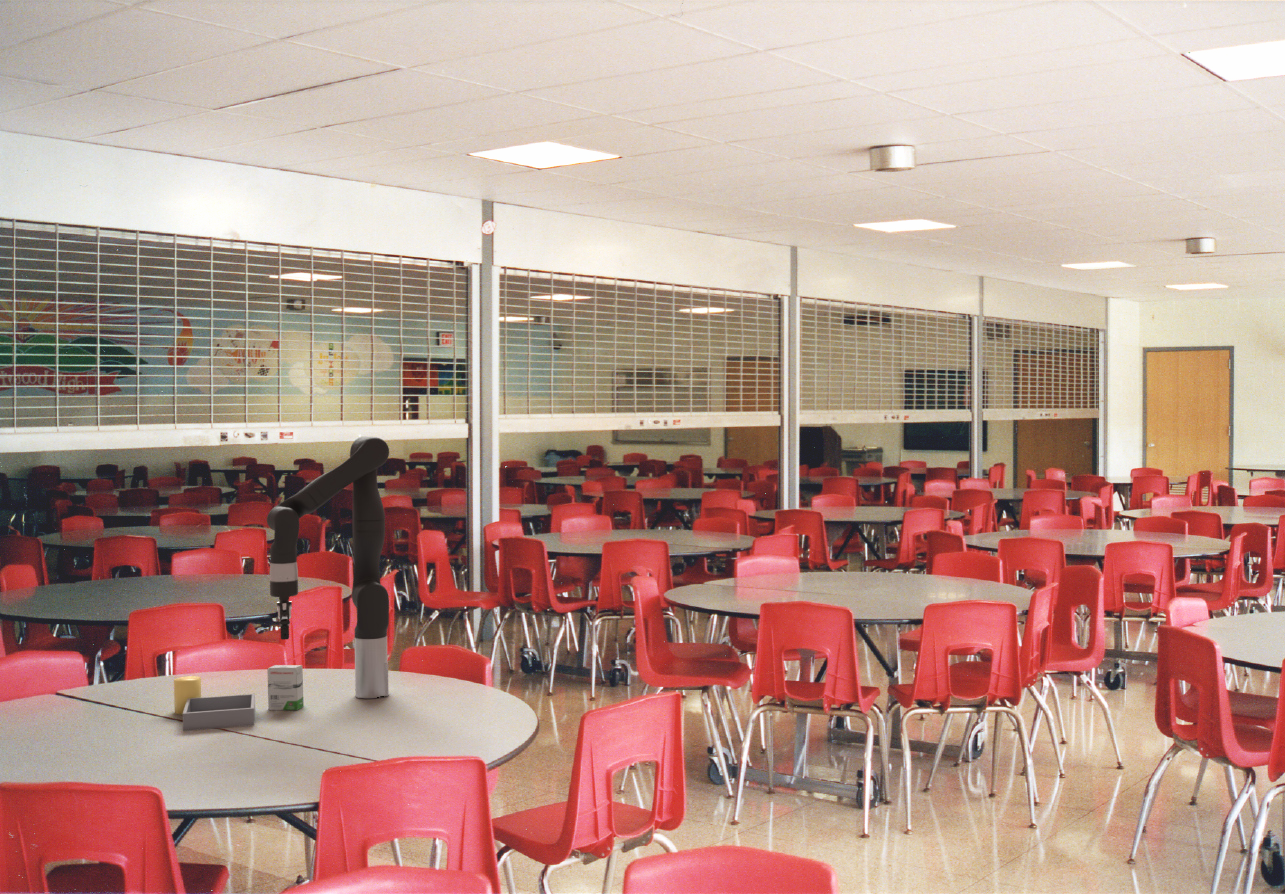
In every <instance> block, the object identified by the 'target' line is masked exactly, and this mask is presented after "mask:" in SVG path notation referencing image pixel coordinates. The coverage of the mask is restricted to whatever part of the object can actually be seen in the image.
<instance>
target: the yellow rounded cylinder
mask: <svg viewBox="0 0 1285 894" xmlns="http://www.w3.org/2000/svg"><path fill="white" fill-rule="evenodd" d="M173 696H174V697H173V698H174V699H173V701H174V702H173V703H174V709H173V710H174V714H176V715H183V711H184V708H185V705H186V702H187V698H200V697H202V678H201V677H200V676H195V675H193V676H190V675H188V676H181V677H177V678H175V679H173Z"/></svg>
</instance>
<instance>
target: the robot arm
mask: <svg viewBox="0 0 1285 894" xmlns="http://www.w3.org/2000/svg"><path fill="white" fill-rule="evenodd" d="M389 456H390V448H389V445H388V443H387V442H386V441H385V440H384V439H383V438H380V437H377V436H360V437H358V438H356V439H355V440H354V441H353V443H352V444H351V446H350V449H349V458H348V459H346V460H345V461H344V462H342V463H340V464H339V465H338V466H336V467H335V468H333V469H331V470H329V471H327V472H325V473H323V474H322V475H320V476H318V477H317V478H315V479H313V480H312V481H311V482H310V483H308V484H307V485H305V486H304V487H303V488H301V489H300V490H299V491H298V492H297V493H296V494H293V495H292V496H291V497H289V498H286V499H285V500H284V501H281V502H280V503H278V504H277V505H275V506H274V507H272V509H271V510H270V511H269V512H268V514H267V516H266V524H267V525H268V527H269V528H270V529H271V530H272V531H274V535H273V538H274V539H273V542H272V544H271V545H270V551H269V553H270V555H269V556H270V565H269V595H270V597H272V598H278V599H279V601H277V602H276V610H277V618H278V619H279V626H280V639H281V640H282V641H283V640H289V639H290V625H291V620H290V619H292V608H293V607H292V606H293V605H292V604H293V602H292V600H291V601H289V600H290V597H295V596H298V594H299V569H298V562H297V558H298V557H297V554H298V553H297V545H298V541H299V540H298V539H299V532H300V519H301V518H302V517H305V515H309V514H312V513H314V512H315V511H316V510H318V509H319V508H320V507H322V506H323V505H325V504H326V503H327V502H329V501H330V500H331V499H332V498H333V497H335V496H336V495H337V494H338V493H340V492H341V491H342V490H344V489H345V488H347V487H348V486H350V485H351V484H352V547H353V560H354V562H353V563H354V564H353V565H354V566H353V568H354V569H353V578H352V580H353V581H352V587H351V588H352V589H351V590H352V591H351V599H352V600H351V601H352V603H353V605H354V606H355V607H356V625H355V628H354V677H355V680H354V681H355V682H354V683H355V684H354V686H355V687H354V690H355V693H354V696H355V698H359V699H378V698H377V697H379V698H381V697H380V696H384V697H388V695H389V693H390V691H389V662H388V629H389V623H390V598H389V592H388V590H387V589H386V587H385V586H384V585H382V583H381V577H380V576H381V575H380V560H381V556H382V551H383V547H384V543H385V539H386V538H385V536H386V514H385V513H386V512H385V509H384V504H383V502H382V498H381V495H380V491H379V486H378V468H380V467H381V466H383V465H384V464H386V462H387V460H388V459H389Z"/></svg>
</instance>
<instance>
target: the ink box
mask: <svg viewBox="0 0 1285 894" xmlns="http://www.w3.org/2000/svg"><path fill="white" fill-rule="evenodd" d="M266 673H267V698H268V700H267V702H268V703H267V704H268V705H267V707H268V710H269V711H298V710H301V709H302V708H303V707H304V706H305V705H304V678H303V675H304V672H303V664H300V665H299V664H297V665H296V664H295V665H292V664H286V665H284V664H281V665H280V664H275V665H272V666H270V667H268V668H267V672H266Z"/></svg>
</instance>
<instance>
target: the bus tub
mask: <svg viewBox="0 0 1285 894" xmlns="http://www.w3.org/2000/svg"><path fill="white" fill-rule="evenodd" d="M255 717H256V694H255V693H245V694H231V695H217V696H201V697H200V698H187V702H186V705H185V708H184V711H183V714H182V731H183V732H184V731H185V732H187V731H197V730H211V729H223V728H236V727H249V726H251V727H252V726H255Z"/></svg>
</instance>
